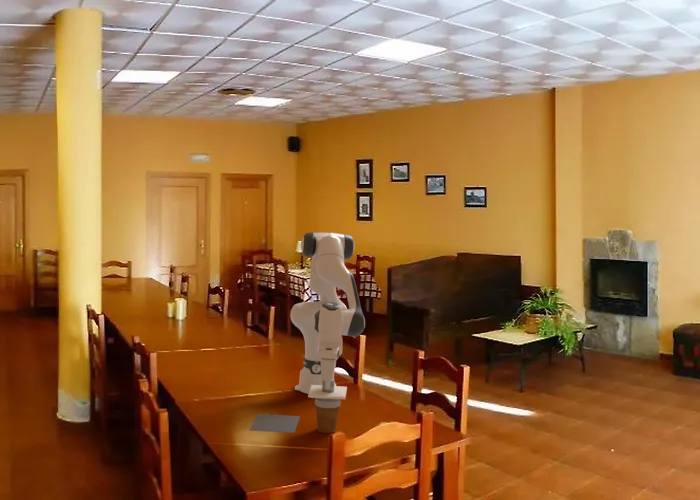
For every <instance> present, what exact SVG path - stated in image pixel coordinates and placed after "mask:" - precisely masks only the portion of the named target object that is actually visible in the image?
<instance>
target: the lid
mask: <svg viewBox="0 0 700 500" xmlns="http://www.w3.org/2000/svg"><path fill="white" fill-rule="evenodd" d="M334 384H336V380H335V378H334V379H332V381H331V384H330V389H329V390H328V389H325V381H323V380H322V385H311V388H310V391H309V394H307V398H311V399H316V398H328V399H340V400H346V399H347V398H346V397H347V390H348V387H347V386H343V385H342V386H339V385H338V386H337V385H336V386H334Z"/></svg>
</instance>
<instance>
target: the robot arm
mask: <svg viewBox="0 0 700 500" xmlns="http://www.w3.org/2000/svg"><path fill="white" fill-rule="evenodd" d="M355 246H356V245H355V241H354V238H353V236H351V234H350V235H349V234H347V233H344V234H343V233H337V232H330V231H329V232H314V231H311V232H310V231H309V232H306V233H305V234H304V235H303V237H302V239H301V241H300V249H301V252H302V255H303V256H304V257H306V258H309V259H311V264H310V272H309V282H308V283H309V284H308V285H309V289H310V290H311V291H312V292H313V293H315V294H316V295H318V296H319V298H320V299H319V300H318V301H303V302H298V303H296V304H294V305H293V306H292V308H291V310H290V314H289V315H290V316H289V317H290V320H291V322H292V324H293V325H294V326H295V327H296V328H297V329H298V330H300V332H301V333H302V336H303V339H304V350H305V351H304V353H305V354H304V358H303V368H302V369H300V371H299V383H298V384H297V385H295V386H294V390H295V391H298V392H301V393H304V394H307V395H308V394H309V391H310V388H311V385H322V380H323V381H325V389H328V390H329V389H330V384H331V381H332V379H334V380H335V369H336V366H337V365H336V364H337V360H338V359H339V357H340V356H341V355H342V354H343V336H348V337H355V338H356V337H358V336H359V335H361V334H362V333H363V332H364V330H365V328H366V319H365V316H364V313H363V309H362V306H361V305H362V304H361V301H360V297H359V293H358V288H357V284H356V280H355V277H354V274H353V273H352V272H351V271H349V270H348V268H347V266H346V265H345V264H346V263H345V260H349V259H351V258H352V257H353V255H354V252H355V251H356V250H355V248H356V247H355ZM337 288H338V289H340V290H342V291H343V292H344V293H345V294H346V297H347V302H348V308H347V305H345V303H344V302H343V301H342V300H341V299H340V298H339V296H338V294H337ZM334 386H337V384H336V383H335V384H334Z"/></svg>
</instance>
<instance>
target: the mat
mask: <svg viewBox="0 0 700 500" xmlns="http://www.w3.org/2000/svg"><path fill="white" fill-rule="evenodd" d="M300 419H301V416H300V415H283V414H264V413H258V414H257V416H256V417H255V419H254V420H253V423H252V424H251V426H250V429H249V431H254V432H270V433H271V432H273V433H289V434H295V432H296V430H297V426H298V424H299V421H300Z"/></svg>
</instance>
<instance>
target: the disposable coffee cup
mask: <svg viewBox="0 0 700 500" xmlns="http://www.w3.org/2000/svg"><path fill="white" fill-rule="evenodd" d="M341 401H342V400H341V399H328V398H315V400H314V405H315V411H316V412H315V413H316V415H315V416H316V425H317V431H318V432H320V433H324V434H325V433H326V434H330V433H333V432H335V433H336V428H337V425H338V424H337V422H338V417H339V410H340V407H341V404H342V402H341Z"/></svg>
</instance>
